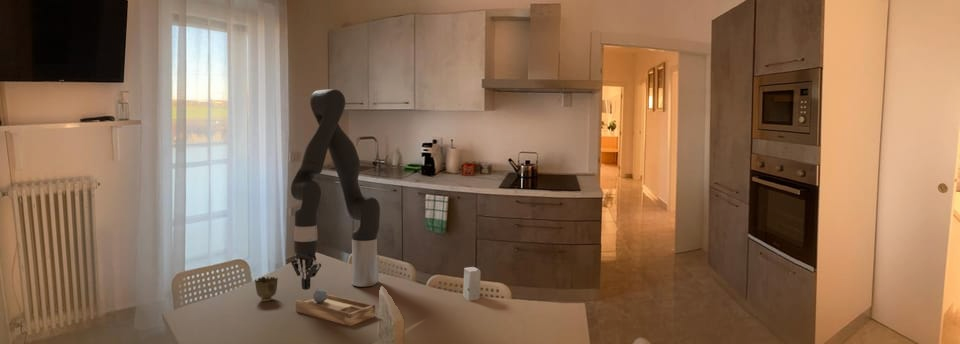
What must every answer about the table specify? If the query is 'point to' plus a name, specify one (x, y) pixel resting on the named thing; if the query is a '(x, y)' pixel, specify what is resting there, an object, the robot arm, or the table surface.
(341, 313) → the tray
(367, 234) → the robot arm
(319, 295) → the ball
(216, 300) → the table surface
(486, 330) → the table surface
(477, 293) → the skincare box
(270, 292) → the cup
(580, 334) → the table surface
